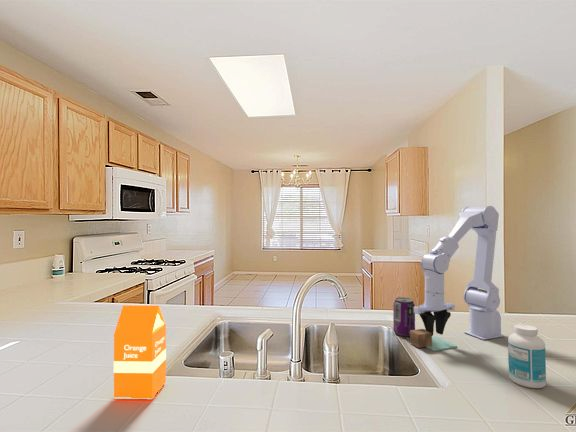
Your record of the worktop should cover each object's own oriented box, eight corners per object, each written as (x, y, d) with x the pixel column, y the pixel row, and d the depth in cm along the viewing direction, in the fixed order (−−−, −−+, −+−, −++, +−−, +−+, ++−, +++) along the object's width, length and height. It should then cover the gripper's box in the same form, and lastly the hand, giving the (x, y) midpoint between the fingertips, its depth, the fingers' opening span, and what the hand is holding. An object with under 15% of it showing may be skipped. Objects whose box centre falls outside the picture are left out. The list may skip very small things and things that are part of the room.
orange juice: (130, 382, 81) (130, 301, 82) (166, 383, 81) (166, 301, 81) (113, 400, 74) (113, 310, 74) (152, 400, 73) (152, 310, 73)
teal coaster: (435, 337, 111) (435, 336, 111) (457, 347, 103) (457, 346, 103) (413, 340, 108) (413, 339, 108) (433, 351, 100) (433, 349, 100)
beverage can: (416, 338, 111) (416, 302, 111) (394, 336, 112) (394, 301, 112) (413, 331, 118) (413, 297, 118) (392, 329, 119) (392, 296, 119)
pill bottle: (539, 377, 83) (538, 323, 83) (551, 392, 76) (551, 333, 76) (504, 373, 86) (504, 320, 86) (513, 386, 79) (513, 330, 79)
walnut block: (423, 328, 107) (409, 330, 106) (431, 333, 103) (417, 334, 102) (423, 341, 107) (410, 342, 106) (431, 345, 103) (418, 347, 102)
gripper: (442, 287, 112) (442, 327, 112) (407, 290, 107) (407, 332, 107) (459, 291, 105) (459, 334, 105) (422, 295, 100) (422, 340, 100)
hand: (434, 334), depth 106 cm, fingers open, 3 cm apart
